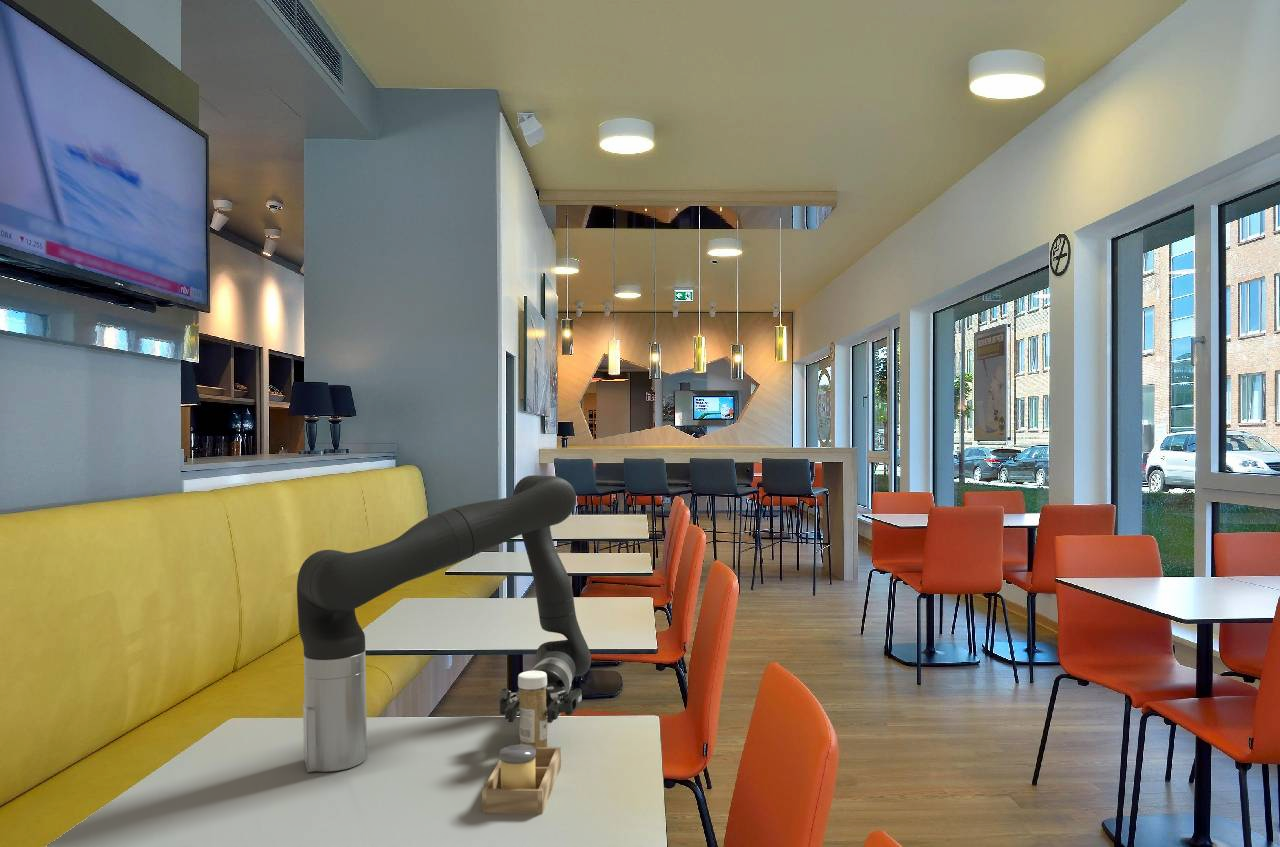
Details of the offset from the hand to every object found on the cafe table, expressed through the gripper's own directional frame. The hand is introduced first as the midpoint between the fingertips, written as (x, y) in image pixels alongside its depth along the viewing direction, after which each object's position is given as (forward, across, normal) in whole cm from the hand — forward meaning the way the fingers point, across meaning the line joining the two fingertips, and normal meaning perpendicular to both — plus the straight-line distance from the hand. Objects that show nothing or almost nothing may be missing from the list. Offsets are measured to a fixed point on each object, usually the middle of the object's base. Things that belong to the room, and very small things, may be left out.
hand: (530, 716), depth 134 cm
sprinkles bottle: (-3, 0, +8) cm, 8 cm away
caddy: (+10, +1, +8) cm, 13 cm away
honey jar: (+14, +1, +7) cm, 15 cm away
